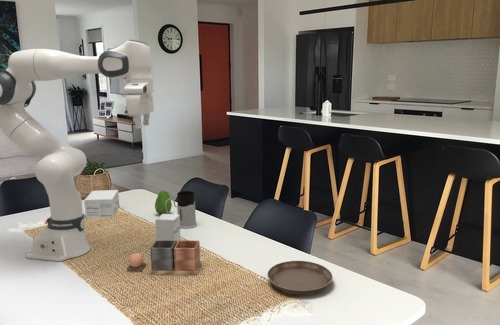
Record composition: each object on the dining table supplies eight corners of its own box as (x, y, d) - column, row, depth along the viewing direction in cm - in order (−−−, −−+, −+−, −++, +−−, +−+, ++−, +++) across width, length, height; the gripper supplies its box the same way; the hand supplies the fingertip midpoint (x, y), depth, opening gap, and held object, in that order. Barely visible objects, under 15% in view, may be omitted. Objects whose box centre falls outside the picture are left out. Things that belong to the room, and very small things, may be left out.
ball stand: (126, 271, 151) (126, 268, 151) (131, 265, 156) (131, 262, 156) (141, 271, 151) (141, 268, 151) (146, 265, 156) (145, 262, 156)
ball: (127, 270, 151) (126, 256, 150) (131, 264, 156) (130, 250, 155) (141, 270, 151) (140, 256, 150) (145, 264, 156) (144, 250, 155)
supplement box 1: (93, 208, 225) (91, 190, 223) (119, 207, 226) (118, 189, 224) (85, 218, 208) (83, 199, 206) (113, 217, 210) (112, 198, 208)
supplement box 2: (174, 252, 168) (173, 220, 165) (156, 250, 169) (154, 219, 167) (181, 244, 175) (180, 214, 172) (163, 243, 176) (162, 213, 174)
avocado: (170, 217, 209) (169, 192, 206) (153, 217, 209) (152, 192, 206) (173, 212, 216) (172, 188, 214) (157, 212, 217) (156, 188, 214)
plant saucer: (316, 306, 128) (316, 295, 127) (255, 288, 139) (255, 278, 138) (341, 278, 145) (341, 269, 145) (285, 264, 156) (285, 256, 155)
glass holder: (200, 226, 196) (199, 193, 193) (170, 232, 188) (169, 199, 185) (191, 221, 203) (190, 189, 200) (162, 227, 195) (160, 194, 192)
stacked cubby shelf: (150, 274, 149) (148, 249, 147) (157, 263, 158) (155, 239, 156) (197, 274, 148) (196, 249, 146) (201, 263, 157) (200, 239, 155)
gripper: (140, 86, 166) (142, 123, 168) (122, 88, 145) (124, 130, 148) (156, 86, 165) (158, 123, 168) (140, 88, 145) (143, 130, 148)
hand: (142, 126), depth 158 cm, fingers open, 8 cm apart
